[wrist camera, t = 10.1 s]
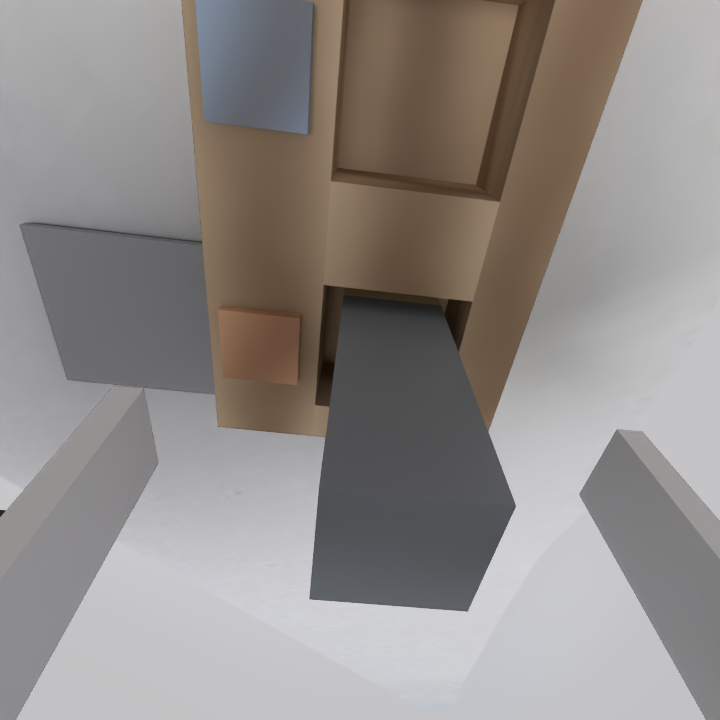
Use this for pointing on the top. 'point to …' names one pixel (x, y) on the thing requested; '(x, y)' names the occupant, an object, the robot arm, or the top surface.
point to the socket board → (383, 175)
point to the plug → (404, 464)
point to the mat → (125, 307)
